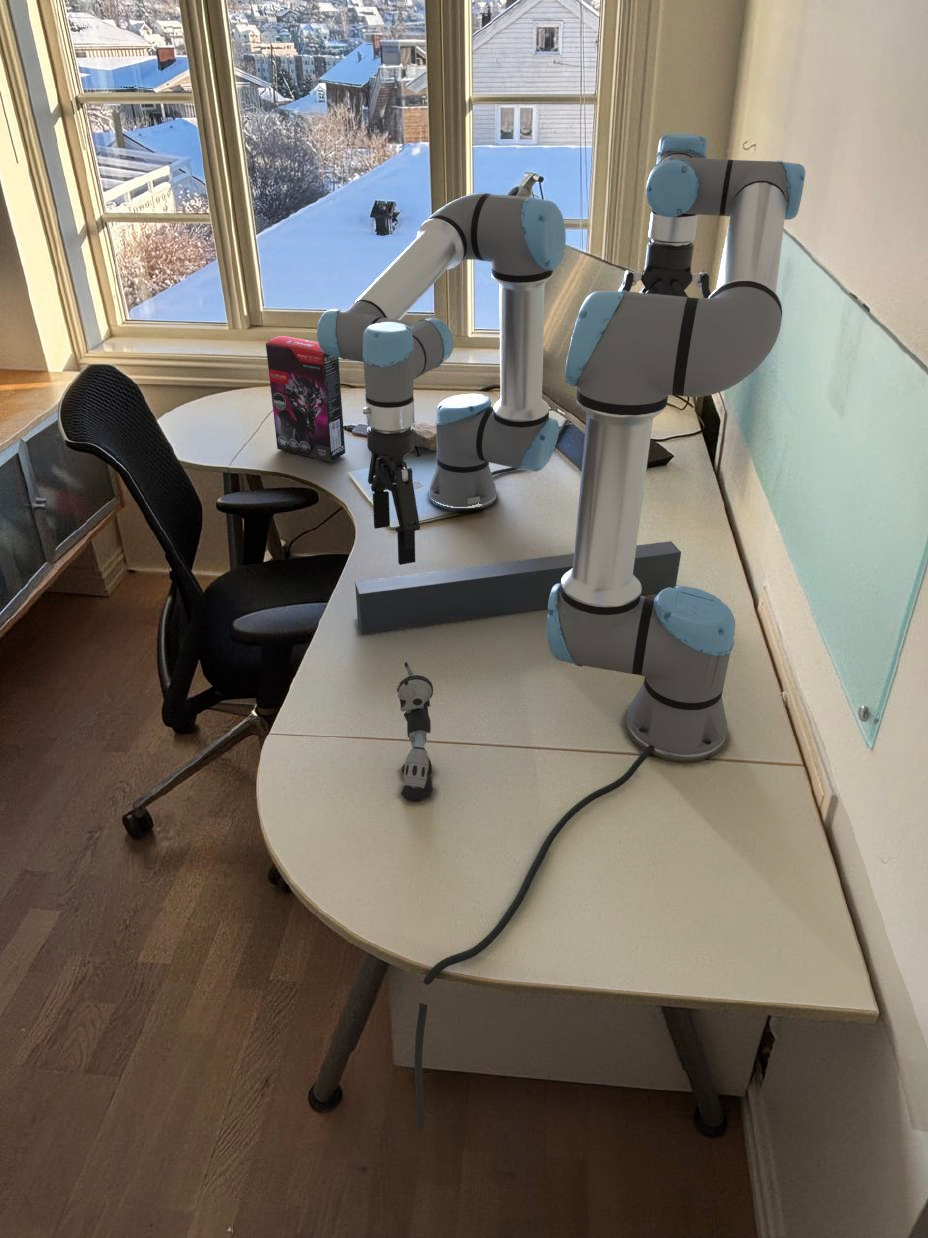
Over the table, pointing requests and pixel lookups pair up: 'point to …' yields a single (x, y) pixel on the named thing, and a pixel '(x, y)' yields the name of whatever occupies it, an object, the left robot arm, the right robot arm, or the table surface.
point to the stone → (425, 435)
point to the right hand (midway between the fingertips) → (654, 368)
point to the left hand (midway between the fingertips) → (394, 544)
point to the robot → (416, 734)
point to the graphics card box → (305, 398)
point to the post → (489, 589)
